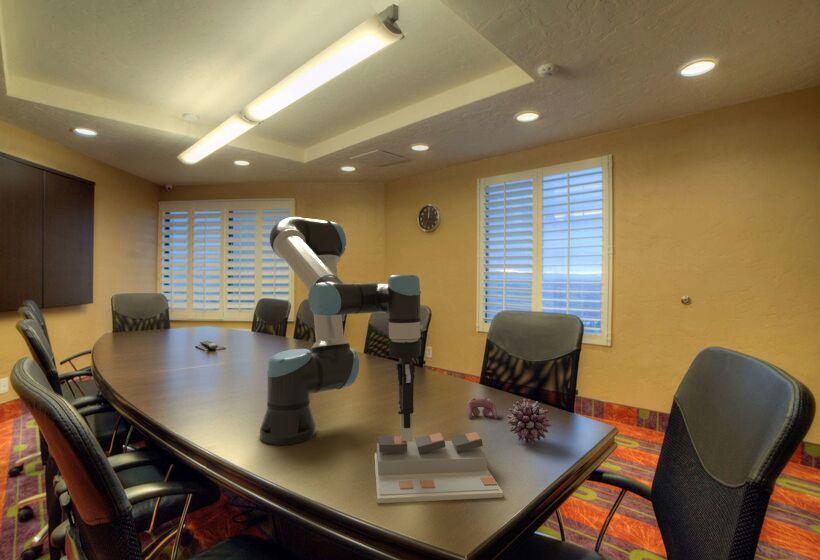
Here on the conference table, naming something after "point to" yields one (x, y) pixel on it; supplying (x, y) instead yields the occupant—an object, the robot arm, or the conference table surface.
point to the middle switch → (430, 442)
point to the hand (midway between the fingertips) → (406, 439)
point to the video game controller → (481, 402)
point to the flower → (528, 421)
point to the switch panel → (433, 475)
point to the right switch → (466, 441)
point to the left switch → (392, 444)
